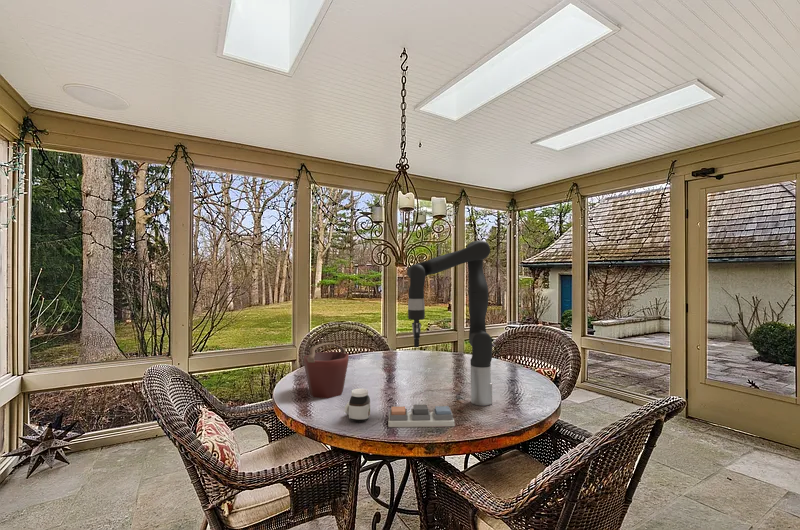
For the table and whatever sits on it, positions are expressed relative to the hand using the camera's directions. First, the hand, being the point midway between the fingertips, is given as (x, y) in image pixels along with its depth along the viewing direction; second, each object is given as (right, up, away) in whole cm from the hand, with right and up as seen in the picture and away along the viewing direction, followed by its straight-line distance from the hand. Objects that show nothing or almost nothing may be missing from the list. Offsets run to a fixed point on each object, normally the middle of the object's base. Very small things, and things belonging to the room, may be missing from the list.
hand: (416, 346), depth 173 cm
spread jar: (-26, -27, -13) cm, 40 cm away
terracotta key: (-8, -24, -18) cm, 31 cm away
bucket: (-45, -28, +21) cm, 57 cm away
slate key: (+10, -24, -17) cm, 31 cm away
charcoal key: (+1, -23, -17) cm, 29 cm away
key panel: (+1, -27, -17) cm, 32 cm away
